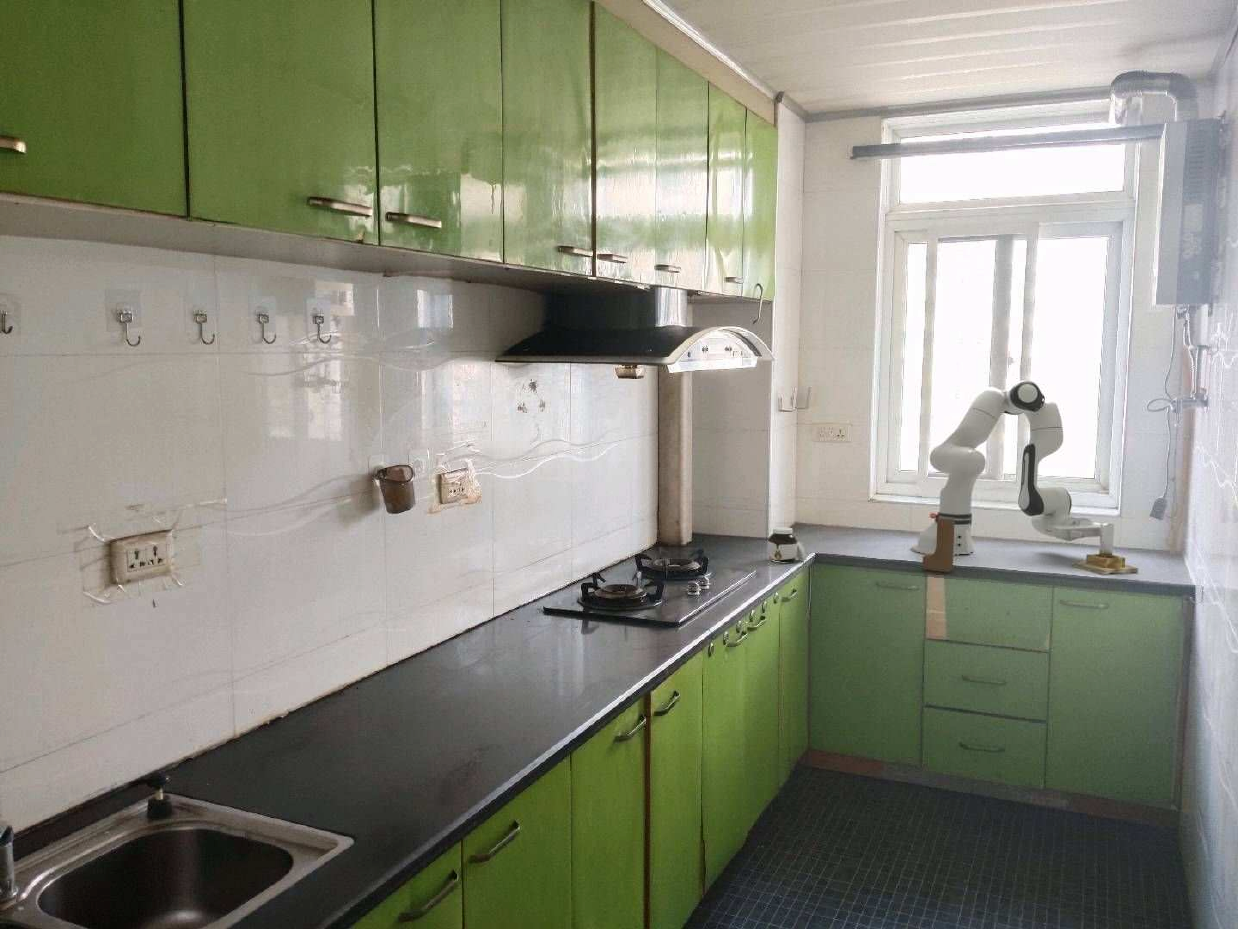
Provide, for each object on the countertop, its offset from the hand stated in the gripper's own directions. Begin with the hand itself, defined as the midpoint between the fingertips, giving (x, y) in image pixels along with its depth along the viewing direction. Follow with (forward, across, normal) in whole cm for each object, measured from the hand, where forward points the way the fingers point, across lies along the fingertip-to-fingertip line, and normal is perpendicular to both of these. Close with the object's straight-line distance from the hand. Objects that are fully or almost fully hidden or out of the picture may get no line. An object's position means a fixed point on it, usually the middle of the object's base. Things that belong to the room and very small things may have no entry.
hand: (1094, 534), depth 341 cm
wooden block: (-6, -56, +11) cm, 57 cm away
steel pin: (+6, 0, +9) cm, 11 cm away
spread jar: (-32, -99, +12) cm, 104 cm away
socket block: (+6, 0, +11) cm, 12 cm away
